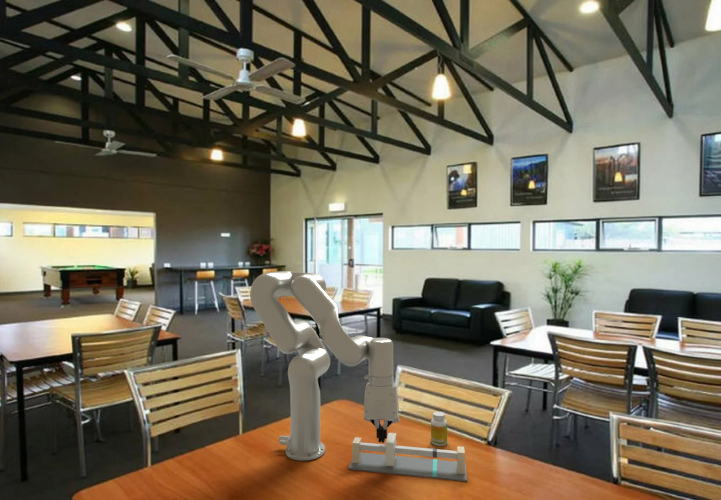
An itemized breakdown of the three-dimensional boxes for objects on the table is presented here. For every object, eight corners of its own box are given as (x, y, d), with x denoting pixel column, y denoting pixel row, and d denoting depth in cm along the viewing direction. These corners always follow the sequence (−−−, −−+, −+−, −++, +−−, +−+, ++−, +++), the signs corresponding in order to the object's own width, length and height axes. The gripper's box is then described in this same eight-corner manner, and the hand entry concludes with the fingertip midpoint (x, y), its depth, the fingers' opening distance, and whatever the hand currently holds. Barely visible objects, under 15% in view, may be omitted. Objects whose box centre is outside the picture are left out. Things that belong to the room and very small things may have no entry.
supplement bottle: (447, 447, 138) (447, 417, 138) (430, 445, 139) (430, 416, 139) (447, 439, 143) (447, 411, 144) (431, 438, 145) (431, 410, 145)
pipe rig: (348, 469, 124) (348, 447, 124) (355, 453, 134) (355, 433, 134) (467, 481, 117) (467, 458, 117) (465, 463, 127) (465, 442, 127)
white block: (385, 465, 123) (385, 442, 123) (388, 454, 130) (388, 432, 130) (393, 466, 123) (393, 443, 123) (396, 455, 130) (396, 433, 130)
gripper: (354, 382, 125) (355, 444, 125) (404, 384, 122) (405, 448, 122) (359, 375, 132) (360, 433, 132) (407, 377, 129) (407, 437, 129)
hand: (381, 440), depth 127 cm, fingers closed
